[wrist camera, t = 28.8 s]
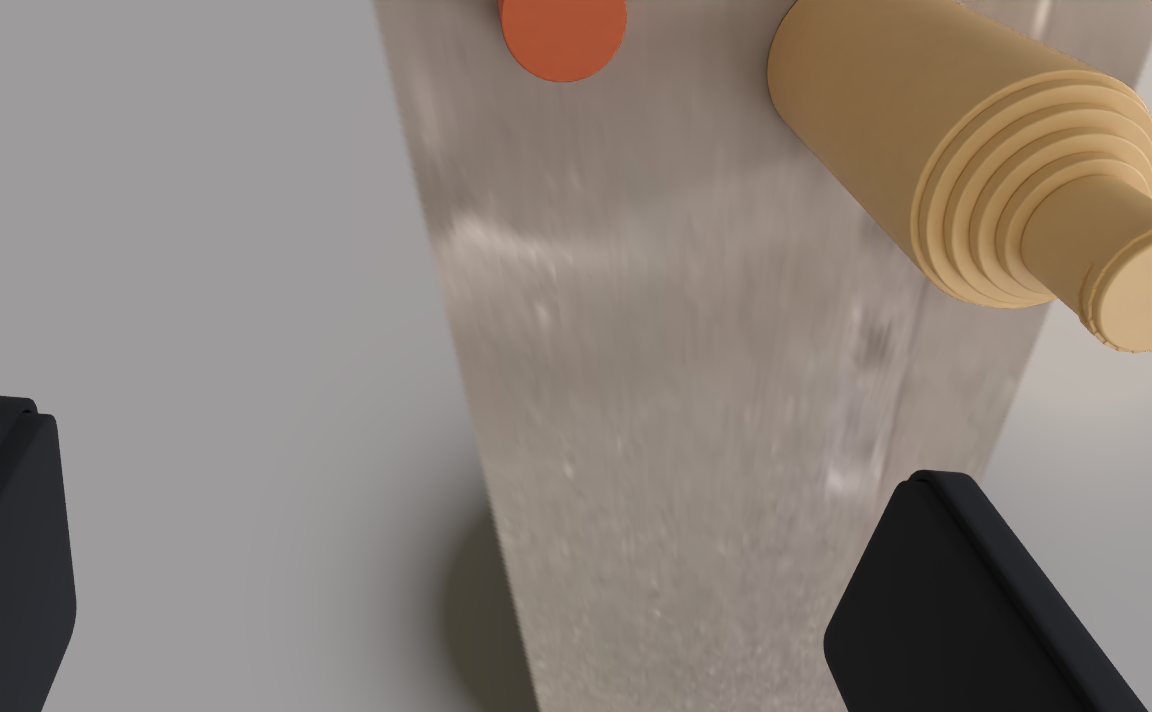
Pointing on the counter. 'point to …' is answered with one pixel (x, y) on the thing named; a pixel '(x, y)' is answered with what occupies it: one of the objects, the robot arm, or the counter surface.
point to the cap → (563, 35)
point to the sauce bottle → (979, 154)
